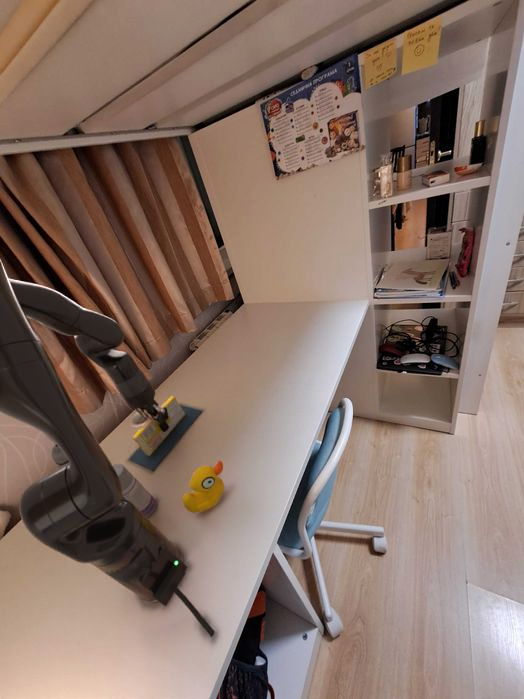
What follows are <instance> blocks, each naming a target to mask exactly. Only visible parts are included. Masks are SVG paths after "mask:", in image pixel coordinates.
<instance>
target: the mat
mask: <svg viewBox="0 0 524 699" xmlns="http://www.w3.org/2000/svg"><path fill="white" fill-rule="evenodd" d="M179 405H180V406H181V408H182V410H183V411H184V413H185V415H184V417H183V418H182V419H181V420H180V421H179V422H178V424H177V425H176V426H175V427H174V428H173V429H172V431H171V432H170V433H169V434H168V435H167V436H166V438H165V439H164V440H163V441H162V442H161V443H160V445H159V446H158V447H157V448H156V449H155V450H154V452H153V453H152V454H151V455H150V456H148V455H146V454H145V453H144V451H143V450H142V449H141V448H140V446H139V447H138V448H137V450H136V451H135V452H134V453H133V454H132V455H131V456H130V457H129V458H128V459H129V460H130V461H132V462H134V463H135V464H138V465H140V466H142V467H145V468H146V469H148V470H150V471H153V472H154V471H155V470H156V469H157V467H158V466H159V465H160V464H161V462H162V461H163V460H164V459H165V458H166V457H167V455H168V454H169V453H170V452H171V451H172V449H173V448H174V447H175V445H176V444H177V443H178V442H179V441H180V439H181V438H182V437H183V436H184V435H185V433H186V432H187V431H188V430H189V429H190V427H191V426H192V425H193V424H194V422H195V421H196V420H197V419H198V418H199V417H200V415H201V414H202V413H203V410H201V409H197V408H193V407H189V406H186V405H182V404H179Z"/></svg>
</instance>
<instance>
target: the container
mask: <svg viewBox="0 0 524 699" xmlns="http://www.w3.org/2000/svg"><path fill="white" fill-rule="evenodd" d="M112 465H113V467H114V469H115V471H116V473H117V475H118V477H119V480H120V483H121V486H122V499H126V500H128V501H130V502H131V503H133V504H134V505H135V506H136V507H137V508H138V509H139V510H140V511H141V512H142V513H143V514H144V515H145V516H146V517H147V518H148V517H150V516H151V515H152V514H153V512H154V511H155V509H156V507H157V501H156V499H155V498H154V497H153V496H152V495H151V493H149V491H148V490H147V489H146V487H145V486H144V485H142V483H141V482H140V481H139V480H138V479H137V478H136V477H135V476H134V475H133V474H132V472H130V471H129V470H128V469H127V467H126V466H124V464H122V463H119V462H118V463H115V464H112Z"/></svg>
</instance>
